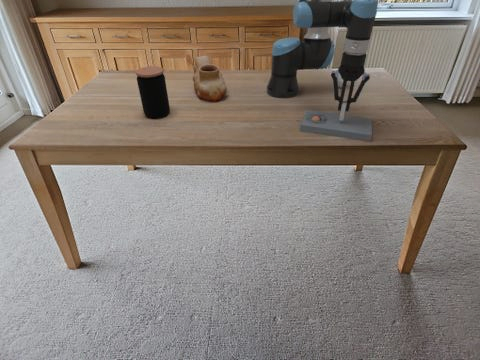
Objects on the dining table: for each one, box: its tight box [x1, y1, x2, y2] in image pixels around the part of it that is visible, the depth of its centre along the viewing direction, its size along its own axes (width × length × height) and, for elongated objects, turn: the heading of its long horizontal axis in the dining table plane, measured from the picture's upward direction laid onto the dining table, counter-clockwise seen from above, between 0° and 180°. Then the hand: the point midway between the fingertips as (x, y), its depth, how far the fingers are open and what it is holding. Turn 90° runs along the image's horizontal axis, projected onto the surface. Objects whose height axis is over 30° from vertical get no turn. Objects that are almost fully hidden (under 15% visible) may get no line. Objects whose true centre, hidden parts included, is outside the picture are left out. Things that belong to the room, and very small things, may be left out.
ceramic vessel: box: [192, 55, 228, 103], centre depth 143 cm, size 14×26×15 cm, turn 19°
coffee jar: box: [134, 65, 171, 120], centre depth 123 cm, size 11×11×18 cm
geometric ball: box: [337, 73, 351, 89], centre depth 149 cm, size 8×8×8 cm
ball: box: [312, 116, 320, 121], centre depth 118 cm, size 3×3×3 cm
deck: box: [299, 109, 373, 142], centre depth 116 cm, size 25×14×2 cm, turn 71°
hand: (341, 118), depth 114 cm, fingers closed
